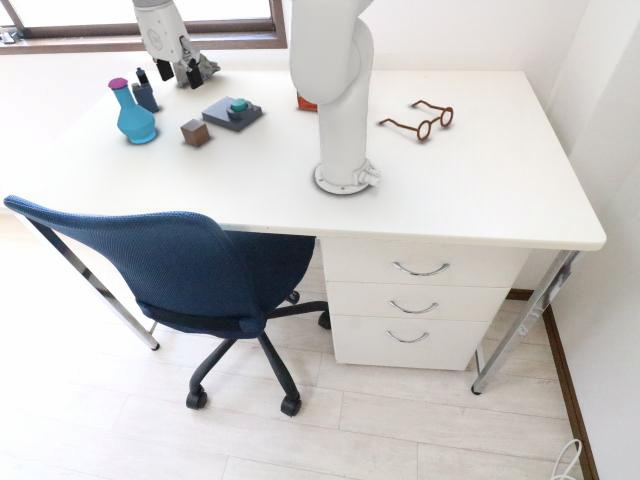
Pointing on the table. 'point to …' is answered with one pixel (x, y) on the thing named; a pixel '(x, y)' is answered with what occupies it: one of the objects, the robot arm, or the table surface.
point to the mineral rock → (205, 68)
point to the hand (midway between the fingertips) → (183, 82)
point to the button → (238, 104)
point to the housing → (231, 114)
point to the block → (195, 132)
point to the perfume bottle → (132, 114)
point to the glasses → (448, 109)
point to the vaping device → (144, 92)
